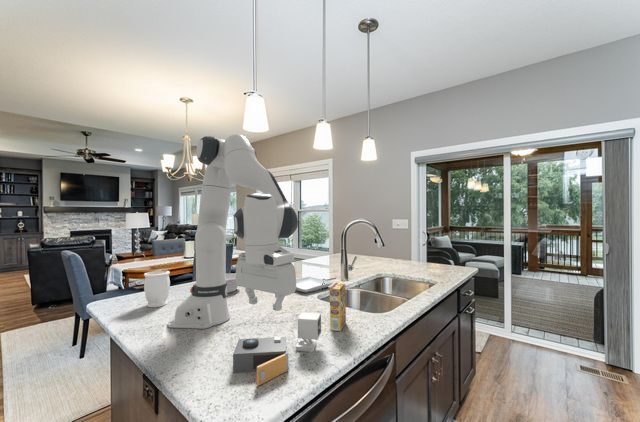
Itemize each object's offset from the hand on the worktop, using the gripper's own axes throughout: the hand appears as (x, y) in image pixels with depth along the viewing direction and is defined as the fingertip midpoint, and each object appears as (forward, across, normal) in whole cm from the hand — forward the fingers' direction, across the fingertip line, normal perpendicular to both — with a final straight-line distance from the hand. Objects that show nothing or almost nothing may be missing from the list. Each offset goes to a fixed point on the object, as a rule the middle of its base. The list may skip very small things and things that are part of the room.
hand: (265, 306), depth 76 cm
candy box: (+19, -3, +37) cm, 42 cm away
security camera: (+19, -1, +18) cm, 26 cm away
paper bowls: (+18, -78, +41) cm, 90 cm away
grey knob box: (+18, -6, +3) cm, 19 cm away
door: (+18, +3, 0) cm, 18 cm away
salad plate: (+20, -47, +72) cm, 88 cm away
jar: (+17, -84, +8) cm, 86 cm away
